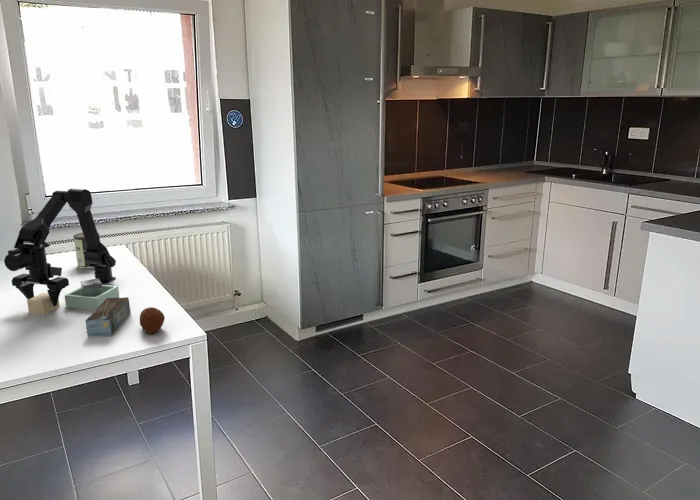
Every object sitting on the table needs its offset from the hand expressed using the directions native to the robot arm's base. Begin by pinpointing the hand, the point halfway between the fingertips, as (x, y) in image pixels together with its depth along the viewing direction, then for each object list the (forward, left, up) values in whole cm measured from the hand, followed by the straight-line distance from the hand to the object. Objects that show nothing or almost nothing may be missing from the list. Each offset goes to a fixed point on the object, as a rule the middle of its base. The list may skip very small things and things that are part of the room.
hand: (43, 304), depth 187 cm
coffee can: (-49, -18, -2) cm, 52 cm away
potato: (+7, +46, -2) cm, 47 cm away
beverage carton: (+6, +30, -2) cm, 31 cm away
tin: (-10, +12, -1) cm, 16 cm away
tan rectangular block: (0, 0, -2) cm, 2 cm away
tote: (-10, +12, -2) cm, 16 cm away
